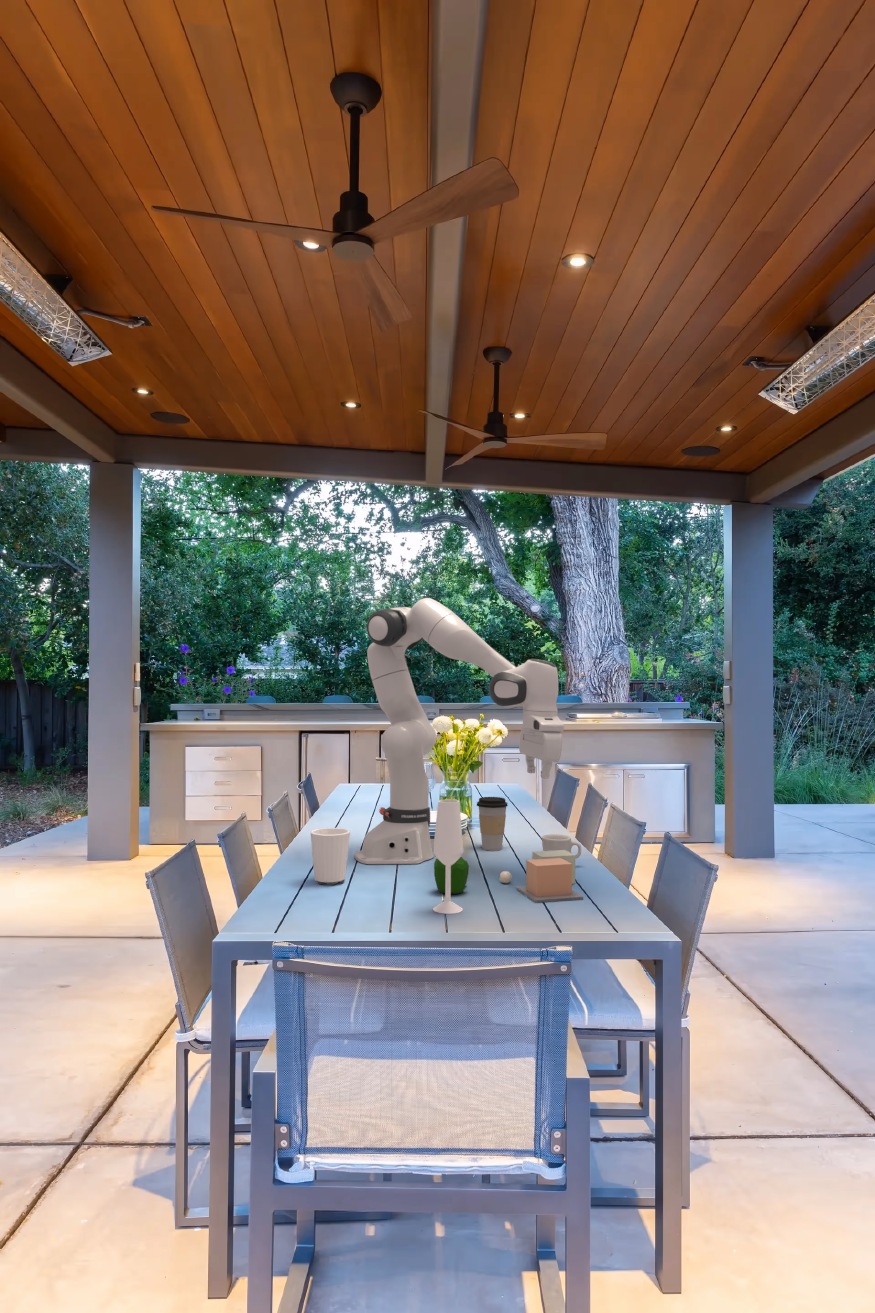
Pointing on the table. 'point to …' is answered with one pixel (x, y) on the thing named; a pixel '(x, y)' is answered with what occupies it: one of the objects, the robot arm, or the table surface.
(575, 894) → the slate coaster
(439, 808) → the champagne flute
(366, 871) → the table surface
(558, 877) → the terracotta block
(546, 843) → the cup
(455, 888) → the bell pepper
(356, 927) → the table surface
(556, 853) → the matte beige cube
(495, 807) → the coffee cup
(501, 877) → the marble cream
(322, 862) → the cup
